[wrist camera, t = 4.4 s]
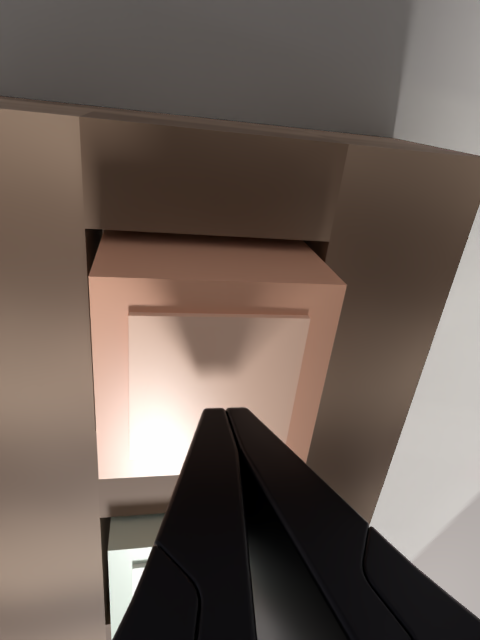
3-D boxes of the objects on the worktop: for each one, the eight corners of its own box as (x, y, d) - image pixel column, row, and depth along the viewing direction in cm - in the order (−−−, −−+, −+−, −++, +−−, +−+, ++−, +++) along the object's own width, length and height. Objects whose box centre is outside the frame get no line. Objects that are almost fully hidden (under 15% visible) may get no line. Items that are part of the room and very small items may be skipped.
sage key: (237, 542, 19) (254, 632, 16) (118, 553, 18) (111, 651, 15) (251, 456, 17) (274, 540, 14) (116, 462, 16) (107, 555, 13)
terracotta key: (272, 386, 14) (306, 472, 11) (110, 389, 13) (98, 484, 10) (297, 235, 12) (350, 287, 9) (105, 224, 11) (87, 279, 8)
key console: (299, 526, 23) (334, 627, 19) (33, 548, 21) (2, 672, 16) (393, 138, 15) (495, 158, 10) (-37, 92, 12) (-143, 93, 8)
